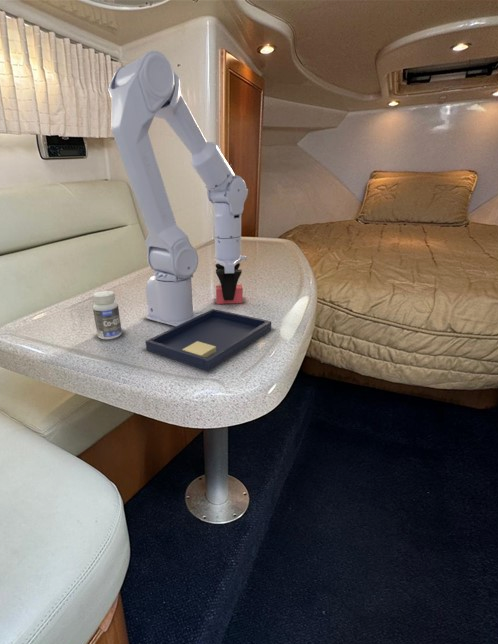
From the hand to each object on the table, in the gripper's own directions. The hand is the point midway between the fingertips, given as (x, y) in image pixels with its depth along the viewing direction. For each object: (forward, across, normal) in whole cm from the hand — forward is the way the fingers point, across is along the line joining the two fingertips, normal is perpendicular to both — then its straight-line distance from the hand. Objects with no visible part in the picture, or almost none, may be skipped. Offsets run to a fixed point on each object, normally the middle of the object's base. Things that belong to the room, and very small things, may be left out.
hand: (228, 296), depth 85 cm
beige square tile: (0, -29, +6) cm, 29 cm away
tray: (+1, -22, +4) cm, 22 cm away
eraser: (+1, 0, 0) cm, 1 cm away
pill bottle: (+1, -18, +24) cm, 30 cm away
